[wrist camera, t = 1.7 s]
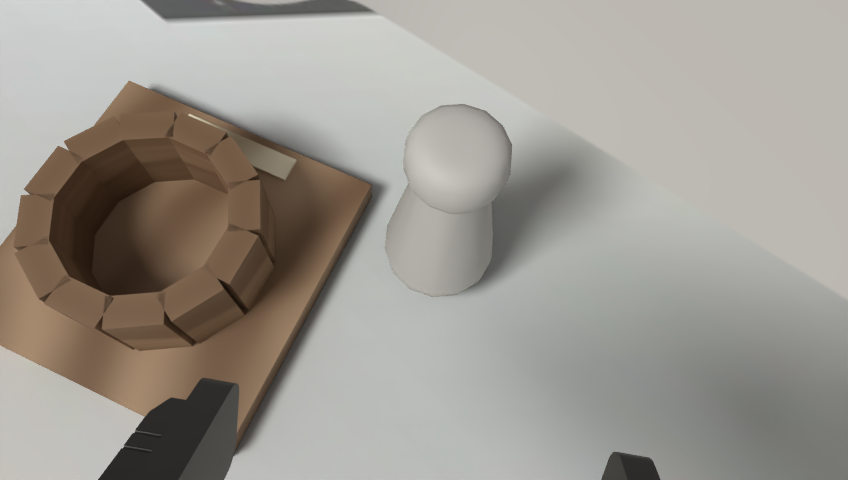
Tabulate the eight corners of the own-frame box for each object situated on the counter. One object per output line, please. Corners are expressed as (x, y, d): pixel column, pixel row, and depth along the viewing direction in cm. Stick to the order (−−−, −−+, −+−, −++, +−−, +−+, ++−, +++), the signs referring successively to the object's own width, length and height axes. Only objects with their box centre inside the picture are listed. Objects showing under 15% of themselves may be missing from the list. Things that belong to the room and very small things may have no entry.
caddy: (371, 196, 37) (369, 144, 31) (231, 457, 31) (197, 449, 25) (138, 95, 38) (96, 28, 33) (-37, 325, 33) (-124, 291, 27)
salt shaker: (392, 207, 37) (395, 68, 25) (488, 218, 37) (538, 85, 25) (379, 302, 34) (375, 200, 22) (481, 314, 34) (533, 219, 22)
